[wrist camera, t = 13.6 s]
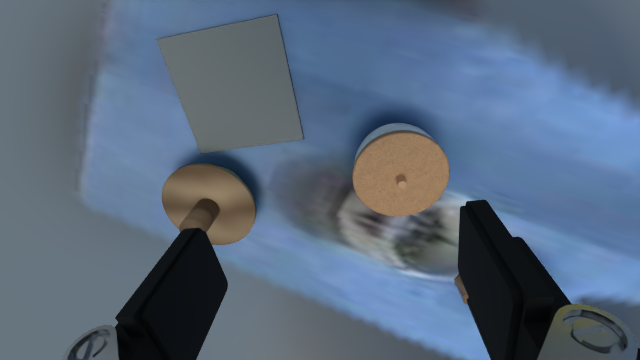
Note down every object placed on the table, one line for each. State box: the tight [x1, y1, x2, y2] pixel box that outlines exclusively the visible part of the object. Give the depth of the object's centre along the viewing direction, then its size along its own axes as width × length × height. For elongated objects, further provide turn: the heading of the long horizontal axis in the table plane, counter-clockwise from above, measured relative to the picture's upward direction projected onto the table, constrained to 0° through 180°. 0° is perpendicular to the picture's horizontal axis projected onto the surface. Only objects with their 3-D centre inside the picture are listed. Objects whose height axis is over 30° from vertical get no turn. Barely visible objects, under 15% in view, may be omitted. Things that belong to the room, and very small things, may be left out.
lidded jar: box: [352, 123, 450, 216], centre depth 38 cm, size 11×11×9 cm
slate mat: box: [156, 14, 304, 154], centre depth 39 cm, size 15×15×1 cm
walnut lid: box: [162, 163, 256, 245], centre depth 41 cm, size 13×13×6 cm
